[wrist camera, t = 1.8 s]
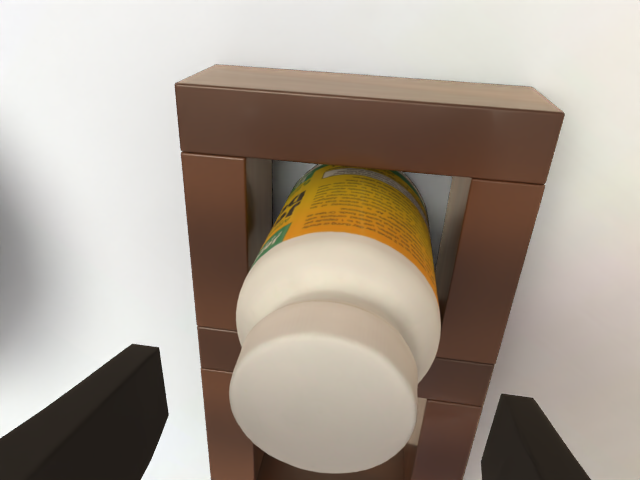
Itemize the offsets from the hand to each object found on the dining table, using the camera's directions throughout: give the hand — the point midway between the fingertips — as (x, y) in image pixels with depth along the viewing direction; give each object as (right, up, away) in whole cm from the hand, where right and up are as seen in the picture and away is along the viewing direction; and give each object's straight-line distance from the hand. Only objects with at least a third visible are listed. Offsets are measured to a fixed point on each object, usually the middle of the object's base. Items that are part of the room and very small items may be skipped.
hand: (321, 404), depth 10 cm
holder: (+1, +1, +10) cm, 10 cm away
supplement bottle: (+1, +4, +8) cm, 10 cm away
